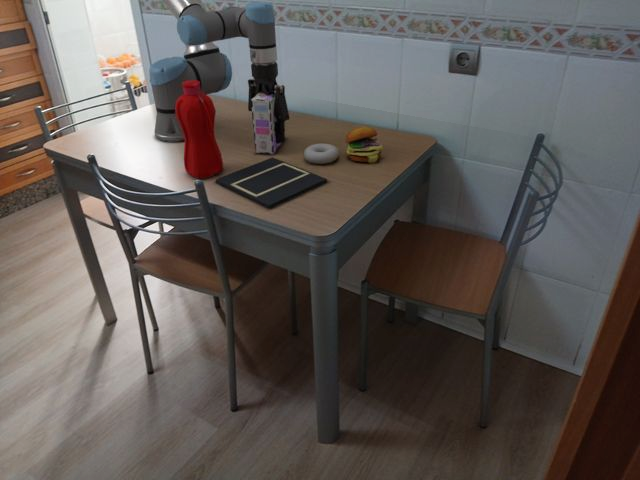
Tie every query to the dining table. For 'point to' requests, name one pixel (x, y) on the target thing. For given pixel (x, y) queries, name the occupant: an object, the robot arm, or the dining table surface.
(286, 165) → the placemat
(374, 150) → the cheeseburger
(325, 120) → the dining table surface
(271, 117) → the candy box
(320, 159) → the donut
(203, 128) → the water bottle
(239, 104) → the dining table surface
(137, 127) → the dining table surface
